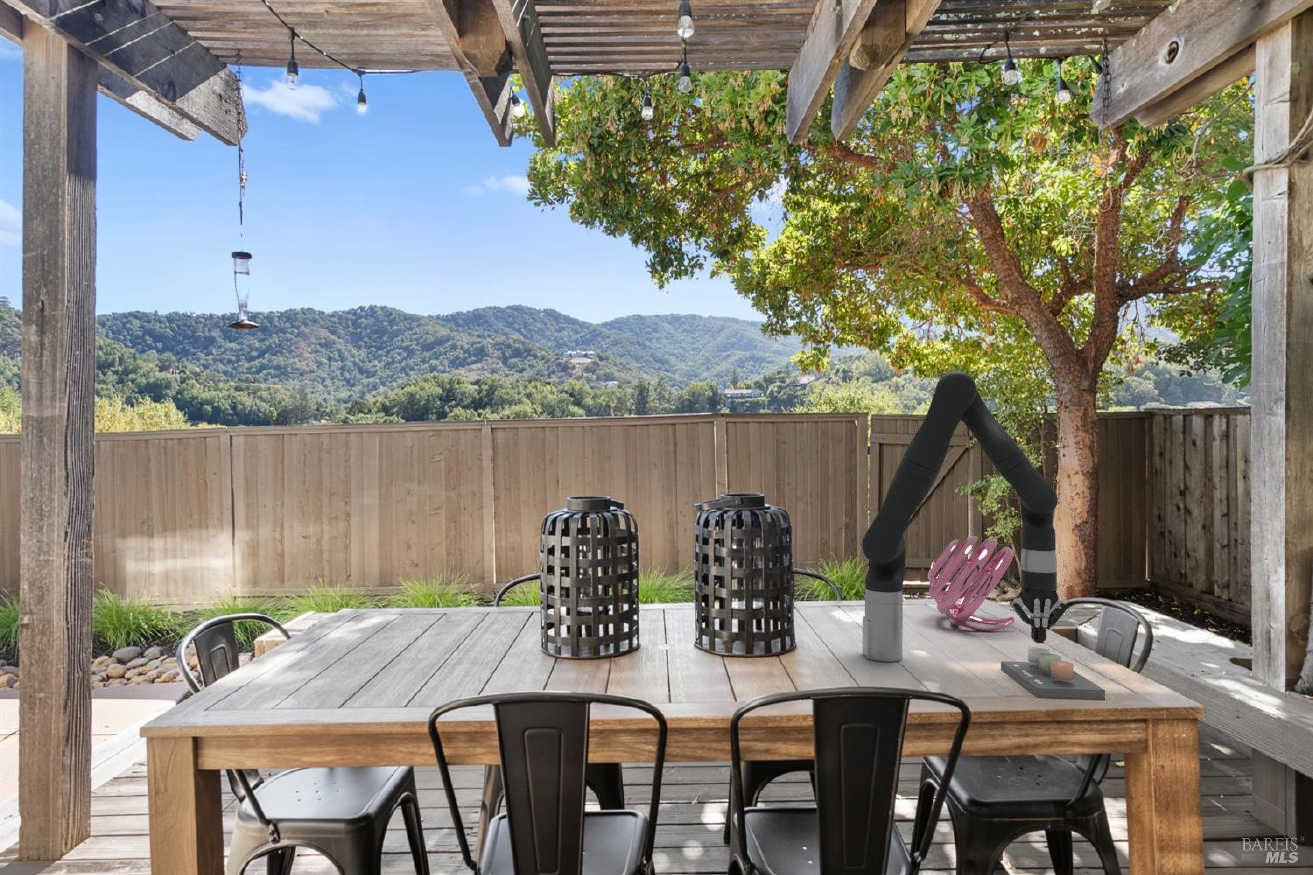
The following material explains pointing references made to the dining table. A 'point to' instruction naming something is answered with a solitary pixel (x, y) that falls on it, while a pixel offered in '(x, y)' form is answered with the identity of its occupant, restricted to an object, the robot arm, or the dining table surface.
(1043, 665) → the sage button
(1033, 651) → the cream button
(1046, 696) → the charcoal panel
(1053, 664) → the terracotta button
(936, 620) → the dining table surface
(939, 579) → the spiral basket
